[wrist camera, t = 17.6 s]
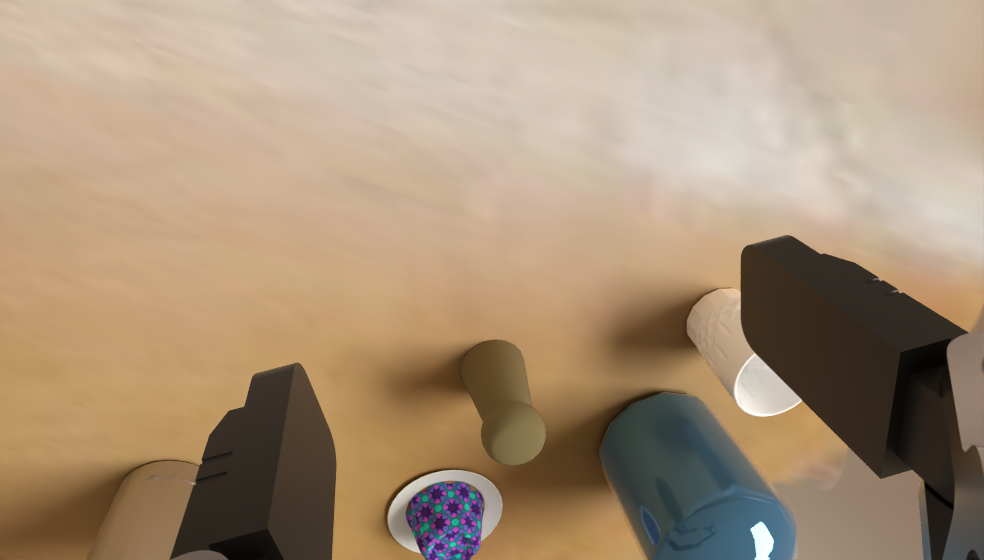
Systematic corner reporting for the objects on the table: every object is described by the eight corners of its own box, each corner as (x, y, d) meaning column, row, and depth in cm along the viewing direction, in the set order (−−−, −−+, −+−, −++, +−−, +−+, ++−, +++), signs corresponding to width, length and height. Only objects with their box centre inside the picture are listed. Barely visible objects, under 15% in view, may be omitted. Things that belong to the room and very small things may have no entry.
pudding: (432, 447, 62) (437, 487, 57) (523, 490, 66) (535, 529, 62) (364, 527, 65) (364, 570, 60) (456, 562, 70) (463, 604, 65)
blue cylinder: (688, 363, 62) (925, 657, 36) (730, 443, 69) (958, 744, 42) (570, 432, 64) (716, 765, 37) (622, 504, 70) (778, 833, 44)
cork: (457, 394, 59) (476, 479, 49) (463, 340, 56) (483, 418, 47) (520, 393, 60) (550, 475, 50) (528, 339, 57) (561, 415, 48)
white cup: (748, 268, 58) (816, 322, 50) (762, 331, 62) (828, 392, 53) (670, 304, 59) (725, 364, 50) (690, 364, 62) (743, 430, 54)
